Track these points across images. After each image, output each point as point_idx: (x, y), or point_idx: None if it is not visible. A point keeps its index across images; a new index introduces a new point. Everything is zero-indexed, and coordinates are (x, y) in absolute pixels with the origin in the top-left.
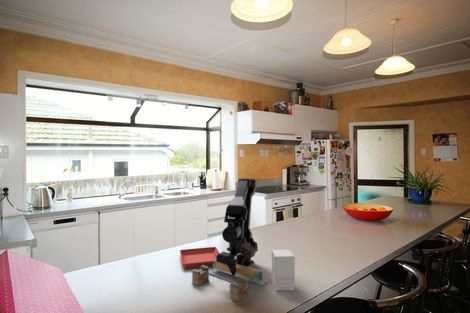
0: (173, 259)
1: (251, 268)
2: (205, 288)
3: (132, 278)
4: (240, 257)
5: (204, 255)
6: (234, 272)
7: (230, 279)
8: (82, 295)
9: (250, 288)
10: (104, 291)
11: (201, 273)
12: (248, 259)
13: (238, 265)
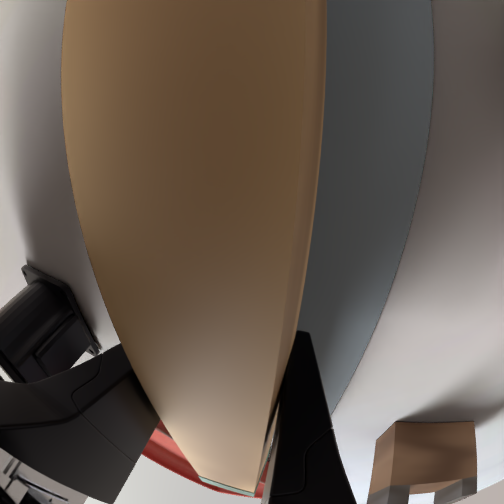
0: None
1: (79, 107)
2: (501, 390)
3: (419, 495)
4: (69, 458)
5: (167, 445)
6: (319, 370)
7: (346, 331)
8: (493, 483)
9: (428, 21)
10: (482, 483)
11: (449, 481)
12: (30, 301)
13: (178, 401)
